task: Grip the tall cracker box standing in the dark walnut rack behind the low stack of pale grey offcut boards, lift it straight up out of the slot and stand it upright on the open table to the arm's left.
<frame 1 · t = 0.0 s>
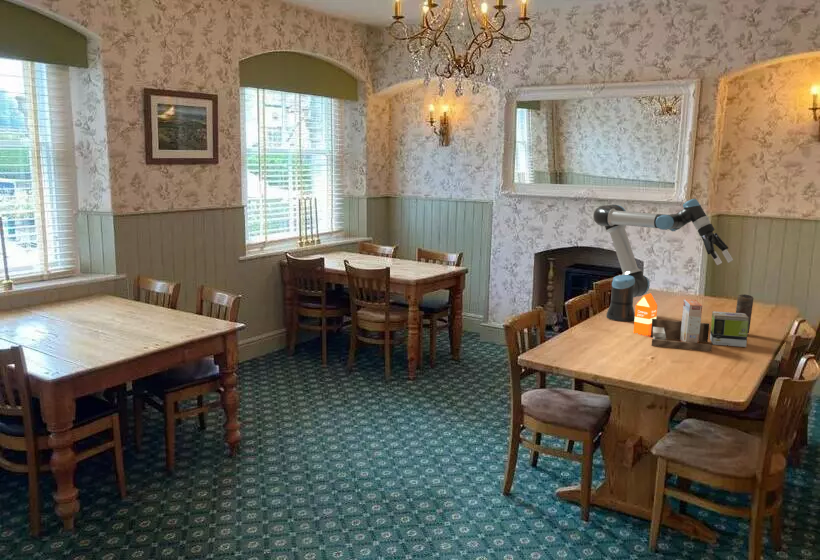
hand: (725, 262, 340), 36 cm above the table, tool tilted 35°, fingers open, 13 cm apart
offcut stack: (658, 342, 325), resting in walnut rack
cracker box: (688, 345, 321), resting in walnut rack
candle: (740, 334, 342), on the table
walnut rack: (679, 343, 322), on the table
tea box: (727, 344, 324), on the table
orange juice: (644, 333, 341), on the table
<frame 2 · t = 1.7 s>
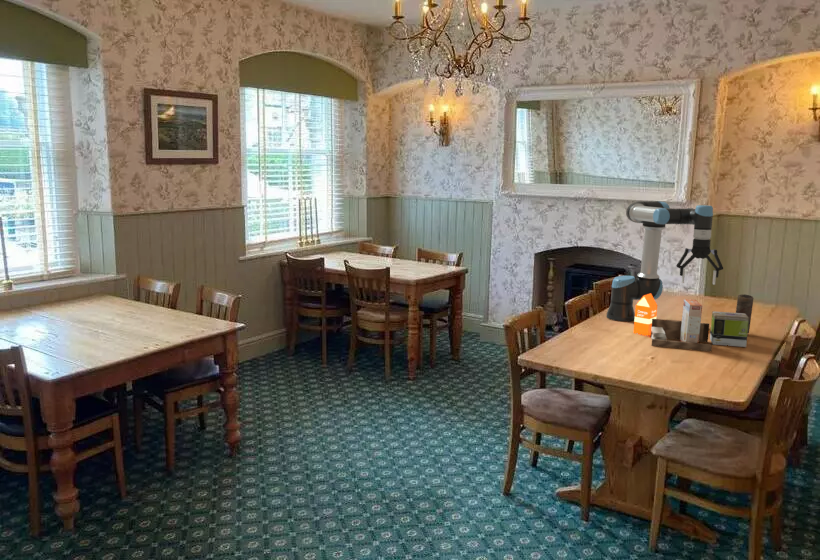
hand: (698, 283, 316), 29 cm above the table, tool pointing down, fingers open, 13 cm apart
nothing on the table moved.
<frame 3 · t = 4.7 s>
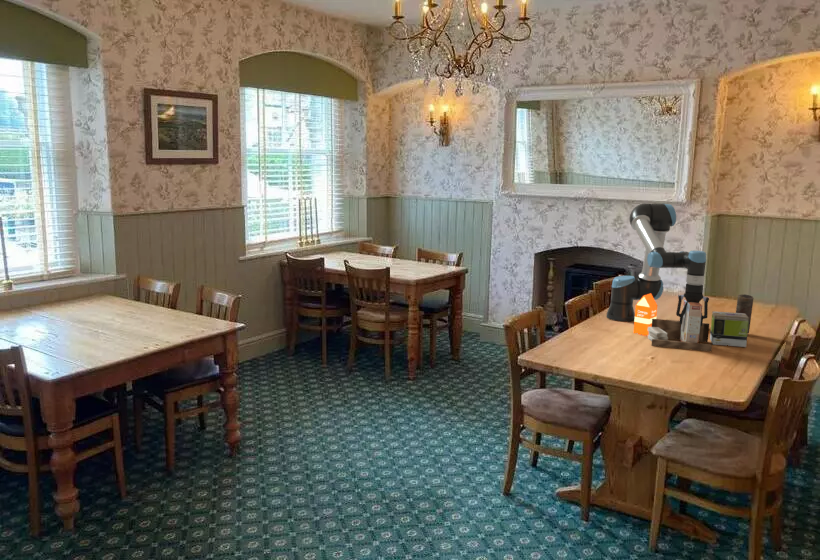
hand: (690, 331, 319), 6 cm above the table, tool pointing down, fingers closed on cracker box, 6 cm apart
cracker box: (688, 344, 321), resting in walnut rack, touching gripper
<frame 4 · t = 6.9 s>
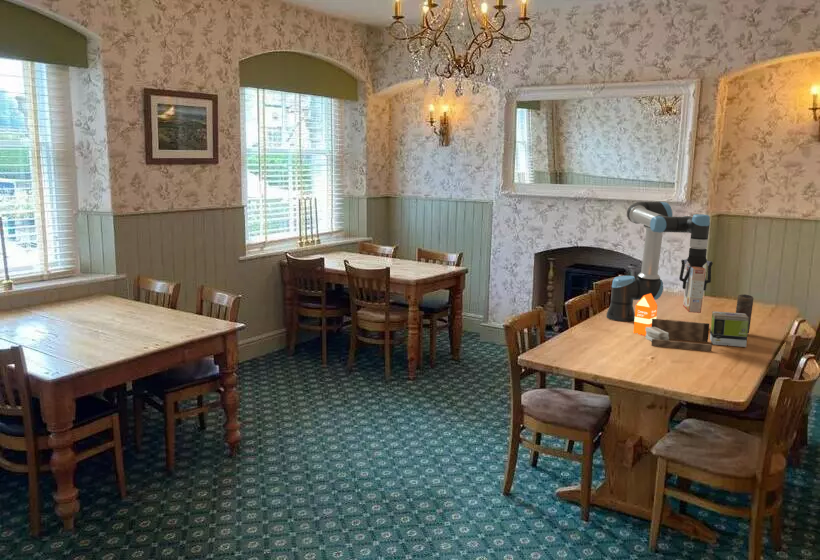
hand: (693, 296, 317), 23 cm above the table, tool pointing down, fingers closed on cracker box, 6 cm apart
cracker box: (691, 310, 318), point 17 cm above the table, touching gripper
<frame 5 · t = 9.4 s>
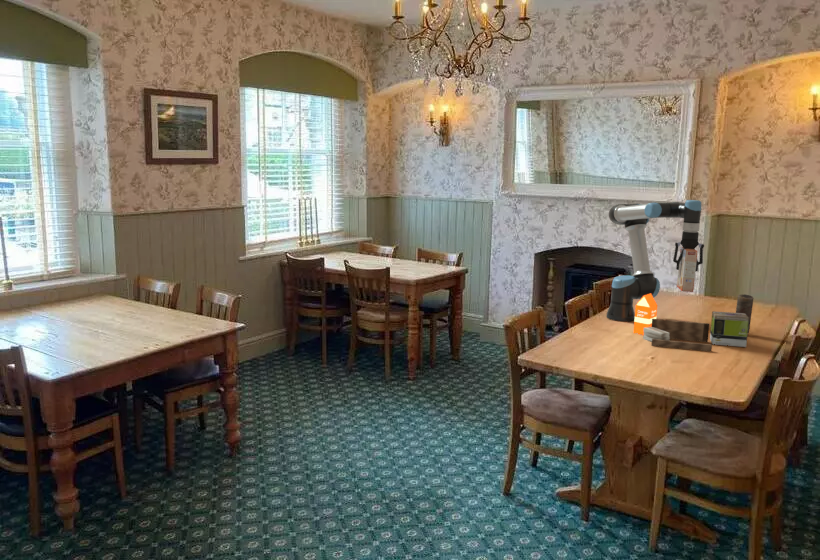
hand: (686, 276, 338), 29 cm above the table, tool pointing down, fingers closed on cracker box, 6 cm apart
cracker box: (685, 289, 340), point 22 cm above the table, touching gripper
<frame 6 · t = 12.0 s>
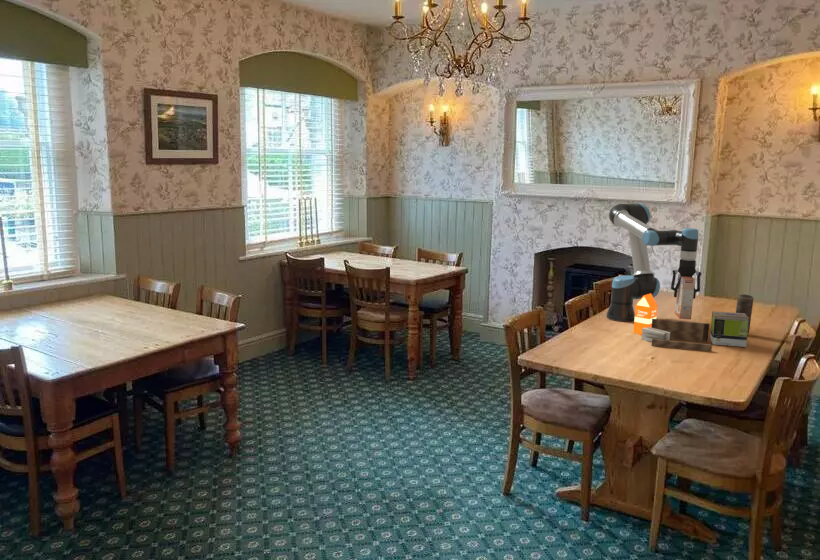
hand: (683, 304, 341), 15 cm above the table, tool pointing down, fingers closed on cracker box, 6 cm apart
cracker box: (682, 316, 342), point 8 cm above the table, touching gripper
when the fingers open (8 cm above the table, at t = 14.2 s): cracker box drops 1 cm, on the table.
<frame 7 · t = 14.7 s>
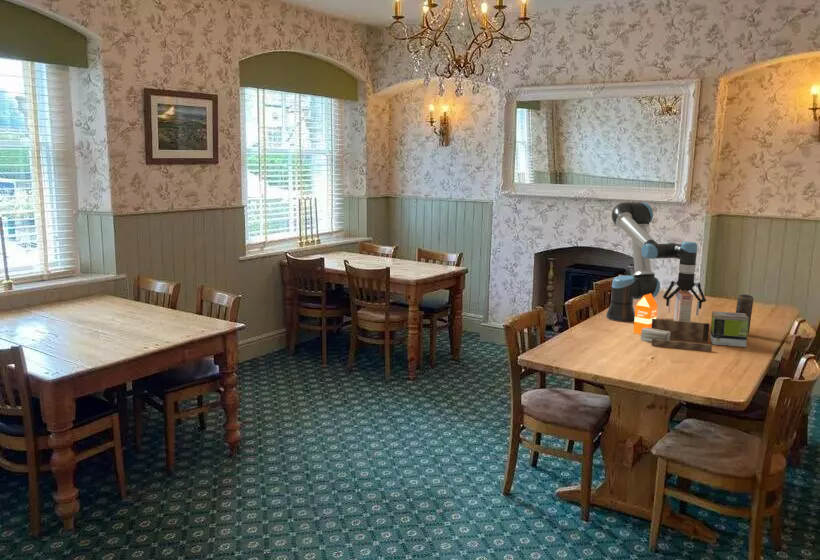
hand: (682, 313, 342), 10 cm above the table, tool pointing down, fingers open, 13 cm apart
cracker box: (681, 332, 344), on the table
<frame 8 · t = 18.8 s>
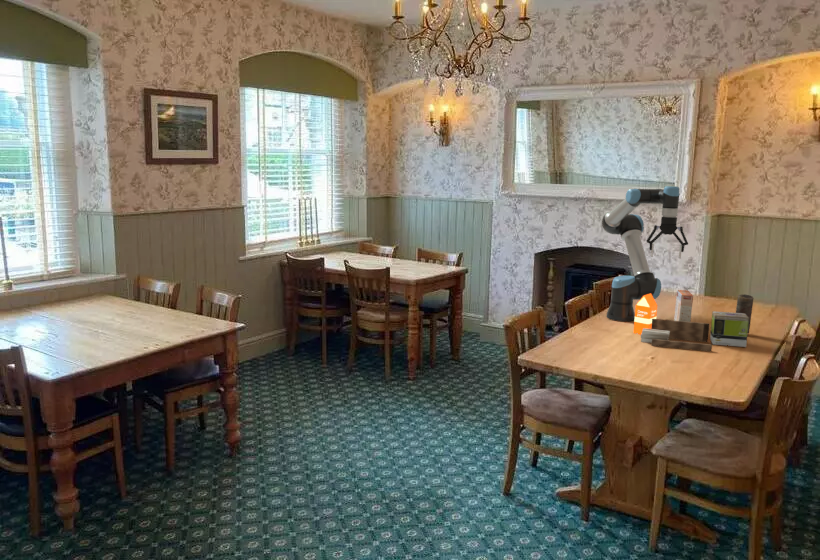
hand: (665, 257, 349), 37 cm above the table, tool pointing down, fingers open, 13 cm apart
at the end: cracker box inside the target area (0.4 cm from its centre), on the table; cracker box tilted 0°; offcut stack moved 2.7 cm from its start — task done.
